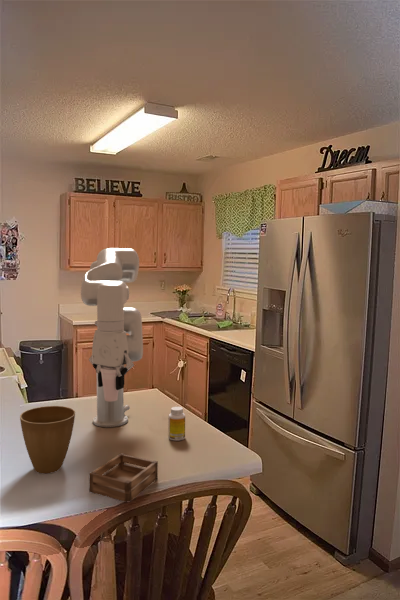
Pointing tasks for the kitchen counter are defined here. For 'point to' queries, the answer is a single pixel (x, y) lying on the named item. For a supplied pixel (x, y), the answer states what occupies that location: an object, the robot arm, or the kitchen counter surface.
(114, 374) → the smoothie
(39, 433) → the plant pot
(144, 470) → the crate
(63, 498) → the kitchen counter surface
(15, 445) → the kitchen counter surface
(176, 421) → the supplement bottle
